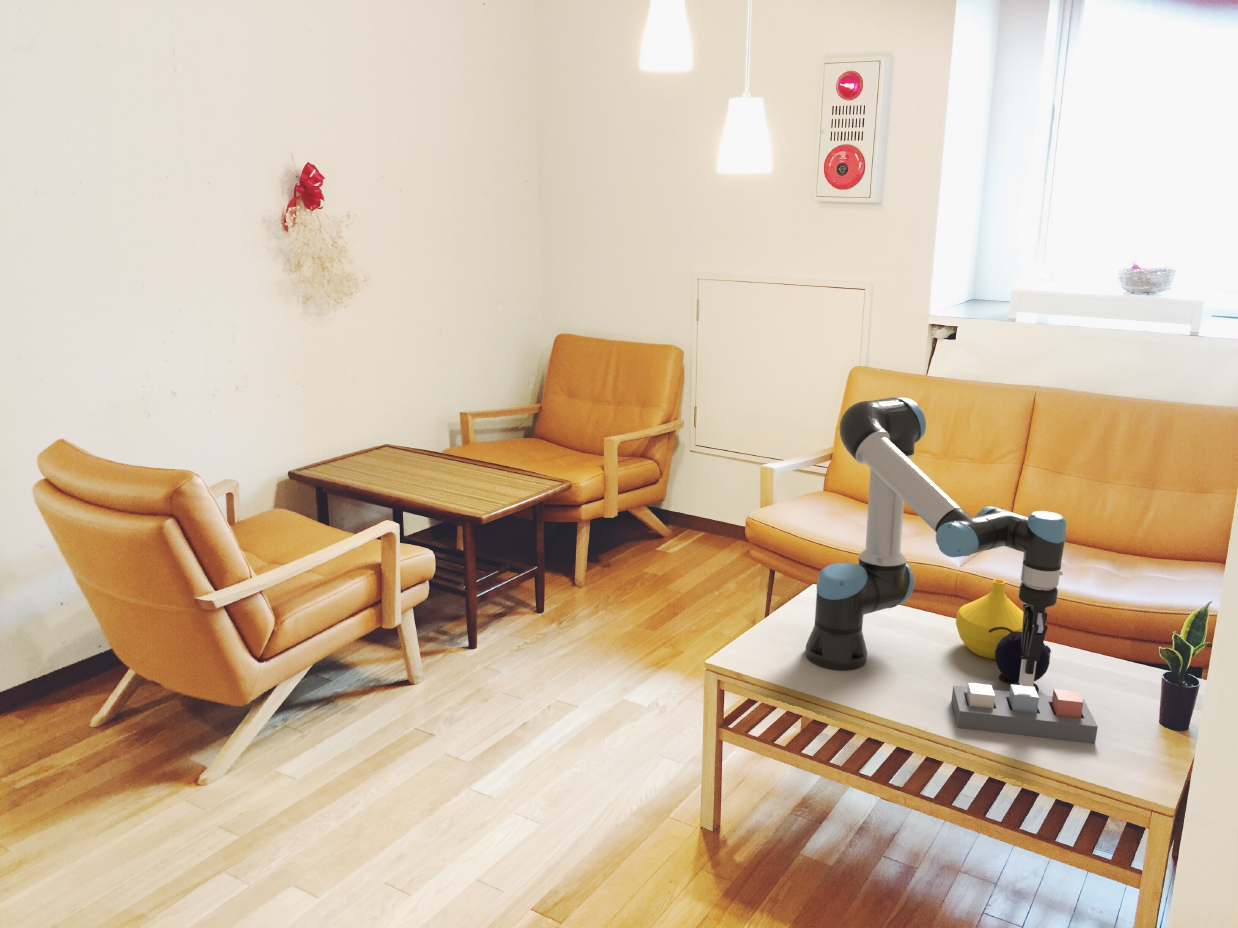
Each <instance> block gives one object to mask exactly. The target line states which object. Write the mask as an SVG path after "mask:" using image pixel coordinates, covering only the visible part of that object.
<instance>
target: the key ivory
mask: <svg viewBox="0 0 1238 928" xmlns="http://www.w3.org/2000/svg"><path fill="white" fill-rule="evenodd" d="M966 687H967V696H966V699H967V703H968V706H975V707H984V708H994V700H995V694H994V691H993V690H994V689H993V685H991V684H984V683H976V682H967V686H966Z"/></svg>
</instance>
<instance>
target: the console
mask: <svg viewBox="0 0 1238 928" xmlns="http://www.w3.org/2000/svg"><path fill="white" fill-rule="evenodd" d="M967 687H968V686H962V685H955V684H954V685H953V686H952V694H951V704H952V709H953V714H954V716H955V721H956V722H955V723H956V725H957V728H958V729H959V728H960V729H966V730H967V729H968V730H977V731H985V732H994V733H995V732H996V733H1003V734H1012V735H1019V736H1030V737H1038V738H1047V739H1053V740H1054V739H1056V740H1062V741H1071V742H1079V743H1081V742H1082V743H1087V744H1088V743H1090V744H1096V741H1097V740H1096V739H1097V734H1098V725H1097V722H1096V721H1095V719H1094V716H1093V714H1092V713H1091V710H1090V709H1089V707H1088V705H1087V702H1086V700H1085V699H1083V698H1081V699H1082V701H1083V708H1082V715H1081V718H1074V717H1065V716H1056V714H1055V712H1054V710H1053V707H1052V705H1051V704H1052V697H1053V695H1045V694H1038V696H1039V702H1038V709H1037V713H1029V712H1020V711H1012V708H1011V705H1010V703H1009V693H1010V690H998V689H993V691H994V694H995V700H994V708H984V707H975V706H968V703H967V699H966V696H967Z"/></svg>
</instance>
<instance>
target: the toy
mask: <svg viewBox="0 0 1238 928" xmlns="http://www.w3.org/2000/svg"><path fill="white" fill-rule="evenodd" d="M999 629H1003V630H1007V631H1009V632H1010V633H1009V634H1008V635H1006V636H1005V637H1003V638H1002V639H1001V640H1000V642H999V643H998V645H997V647H996V650H995V659H994V660H995V664H996V667H997V668H998V670H999V671H1000V674H999V676H998V679H999V681H1001V682H1003V683H1005V684H1010V683H1011V684H1012V683H1014V682H1015V683H1018V684H1019V677H1020V669H1021V662H1022V659H1021V655H1024V654H1022V650H1023V648H1021V640H1022V632H1018V631H1014V632H1013V631H1012V630H1011V629H1009V628H1007V627H995V628H992V629H990V630H989V633H991V632H992V631H995V630H999ZM1051 653H1052V651H1051V648H1050V647H1049V645H1046V644H1045V642H1043V647H1042V652H1041V656H1040V661H1037V662H1036V669H1035V676H1034V684H1033V687H1035V689H1036V692H1037V693H1038V692H1039V690H1040V688H1039V686H1038V685H1037V684H1036V683H1035V682H1036V681H1039V680H1040V679H1041V678H1042V677H1043V676H1044V675H1045V674H1046V673H1047V671H1048V668H1049V666H1050V659H1051Z"/></svg>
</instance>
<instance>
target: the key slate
mask: <svg viewBox="0 0 1238 928" xmlns="http://www.w3.org/2000/svg"><path fill="white" fill-rule="evenodd" d="M1009 687H1010V688H1009V691H1010V693H1009V703H1010V705H1011V708H1012V711H1020V712H1029V713H1037V709H1038V702H1039V696H1038V695H1039V694H1038V692H1036V689H1035V687H1030V686H1021V685H1020V684H1012V683H1011V684H1010V686H1009Z"/></svg>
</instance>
